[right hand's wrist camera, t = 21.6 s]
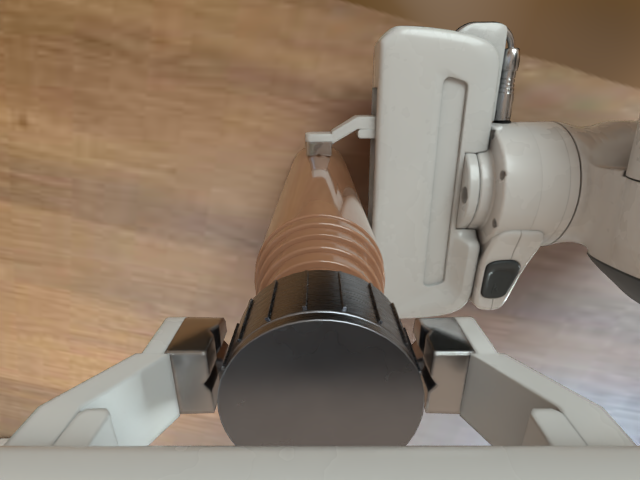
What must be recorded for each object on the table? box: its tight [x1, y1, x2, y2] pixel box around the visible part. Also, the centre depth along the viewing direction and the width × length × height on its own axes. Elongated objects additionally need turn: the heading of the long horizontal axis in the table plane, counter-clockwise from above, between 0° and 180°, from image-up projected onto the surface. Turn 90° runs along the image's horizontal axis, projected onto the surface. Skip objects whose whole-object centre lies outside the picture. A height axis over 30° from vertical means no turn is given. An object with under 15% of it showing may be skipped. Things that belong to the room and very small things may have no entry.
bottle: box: [255, 147, 385, 295], centre depth 20 cm, size 5×5×26 cm
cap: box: [217, 270, 425, 446], centre depth 9 cm, size 4×5×2 cm
